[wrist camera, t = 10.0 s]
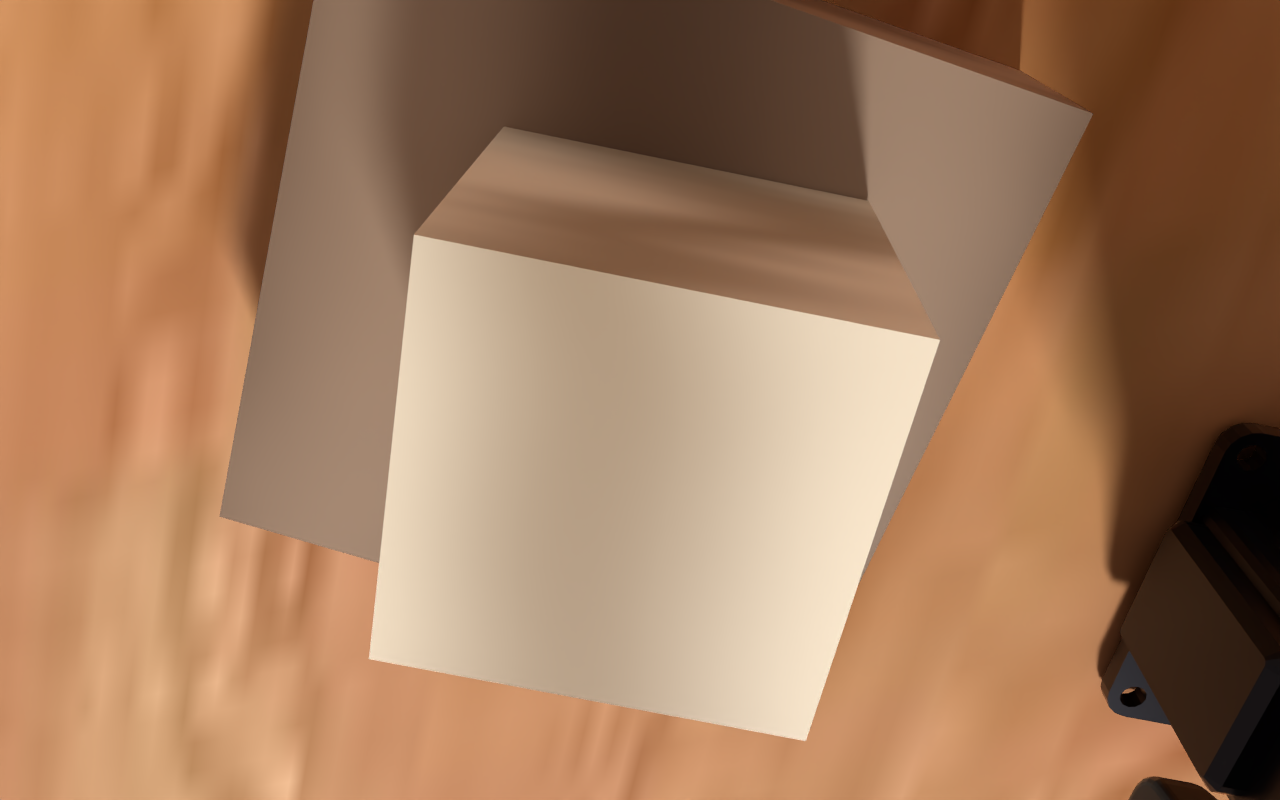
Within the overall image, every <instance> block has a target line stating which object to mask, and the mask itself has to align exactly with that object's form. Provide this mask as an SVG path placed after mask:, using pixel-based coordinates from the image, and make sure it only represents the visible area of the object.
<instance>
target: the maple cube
mask: <svg viewBox="0 0 1280 800" xmlns="http://www.w3.org/2000/svg"><path fill="white" fill-rule="evenodd" d="M939 342H940V339H939V337H938V335H937V333H936V331H935V329H934V327H933V325H932V323H931V321H930V319H929V317H928V315H927V313H926V312H925V310H924V308H923V306H922V304H921V302H920V300H919V298H918V296H917V294H916V292H915V290H914V288H913V286H912V284H911V282H910V280H909V278H908V276H907V274H906V272H905V271H904V269H903V267H902V265H901V263H900V261H899V259H898V257H897V255H896V253H895V251H894V249H893V247H892V245H891V243H890V241H889V239H888V237H887V235H886V233H885V231H884V230H883V228H882V226H881V224H880V222H879V220H878V218H877V216H876V214H875V212H874V210H873V208H872V206H871V204H870V202H869V201H867V200H862V199H857V198H852V197H847V196H842V195H837V194H833V193H828V192H823V191H818V190H813V189H808V188H803V187H798V186H793V185H788V184H784V183H779V182H774V181H769V180H764V179H759V178H754V177H749V176H744V175H739V174H734V173H730V172H725V171H720V170H715V169H710V168H705V167H700V166H695V165H690V164H685V163H681V162H676V161H671V160H666V159H661V158H656V157H651V156H646V155H641V154H636V153H632V152H627V151H622V150H617V149H612V148H607V147H602V146H597V145H592V144H587V143H582V142H578V141H573V140H568V139H563V138H558V137H553V136H548V135H543V134H538V133H533V132H529V131H524V130H519V129H514V128H509V127H503V128H502V129H501V131H500V132H499V133H498V134H497V135H496V137H495V138H494V139H493V140H492V141H491V143H490V144H489V145H488V146H487V147H486V149H485V150H484V151H483V152H482V153H481V155H480V156H479V157H478V158H477V159H476V161H475V162H474V163H473V164H472V165H471V167H470V168H469V169H468V170H467V171H466V173H465V174H464V175H463V176H462V177H461V179H460V180H459V181H458V182H457V183H456V185H455V186H454V187H453V188H452V189H451V191H450V192H449V193H448V194H447V195H446V197H445V198H444V199H443V200H442V201H441V203H440V204H439V205H438V206H437V207H436V209H435V210H434V211H433V212H432V213H431V215H430V216H429V217H428V218H427V219H426V221H425V222H424V223H423V224H422V225H421V227H420V228H419V229H418V230H417V231H416V233H415V234H414V238H413V247H412V257H411V266H410V276H409V285H408V295H407V304H406V314H405V323H404V333H403V342H402V352H401V361H400V371H399V380H398V390H397V399H396V409H395V418H394V428H393V437H392V447H391V456H390V466H389V475H388V484H387V494H386V503H385V513H384V522H383V532H382V541H381V551H380V560H379V570H378V579H377V589H376V598H375V608H374V617H373V627H372V636H371V646H370V655H369V659H372V660H377V661H382V662H388V663H393V664H398V665H404V666H409V667H414V668H420V669H425V670H430V671H436V672H441V673H446V674H452V675H457V676H462V677H467V678H473V679H478V680H483V681H489V682H494V683H499V684H505V685H510V686H515V687H521V688H526V689H531V690H537V691H542V692H547V693H553V694H558V695H563V696H569V697H574V698H579V699H585V700H590V701H595V702H601V703H606V704H611V705H617V706H622V707H627V708H633V709H638V710H643V711H649V712H654V713H659V714H665V715H670V716H675V717H681V718H686V719H691V720H697V721H702V722H707V723H713V724H718V725H723V726H729V727H734V728H739V729H745V730H750V731H755V732H761V733H766V734H771V735H776V736H782V737H787V738H792V739H798V740H803V741H806V739H807V736H808V733H809V730H810V727H811V724H812V721H813V718H814V715H815V712H816V709H817V706H818V703H819V700H820V697H821V694H822V691H823V688H824V685H825V682H826V679H827V676H828V673H829V670H830V667H831V664H832V661H833V658H834V655H835V652H836V649H837V646H838V643H839V640H840V637H841V634H842V631H843V628H844V625H845V622H846V619H847V616H848V613H849V610H850V607H851V604H852V601H853V598H854V595H855V592H856V589H857V586H858V583H859V580H860V577H861V574H862V571H863V568H864V565H865V562H866V559H867V557H868V554H869V551H870V548H871V545H872V542H873V539H874V536H875V533H876V530H877V527H878V524H879V521H880V518H881V515H882V512H883V509H884V506H885V503H886V500H887V497H888V494H889V491H890V488H891V485H892V482H893V479H894V476H895V473H896V470H897V467H898V464H899V461H900V458H901V455H902V452H903V449H904V446H905V443H906V440H907V437H908V434H909V431H910V428H911V425H912V422H913V419H914V416H915V413H916V410H917V407H918V404H919V401H920V398H921V395H922V392H923V389H924V386H925V383H926V380H927V377H928V374H929V372H930V369H931V366H932V363H933V360H934V357H935V354H936V351H937V348H938V345H939Z"/></svg>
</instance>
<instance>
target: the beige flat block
mask: <svg viewBox="0 0 1280 800" xmlns="http://www.w3.org/2000/svg"><path fill="white" fill-rule="evenodd" d="M1092 115H1093V113H1091V112H1090V111H1088V110H1086V109H1085V108H1083V107H1081V106H1079V105H1078V104H1076V103H1074V102H1073V101H1071V100H1069V99H1068V98H1066V97H1064V96H1062V95H1061V94H1059V93H1057V92H1056V91H1054V90H1052V89H1051V88H1049V87H1047V86H1045V85H1044V84H1042V83H1040V82H1039V81H1037V80H1035V79H1034V78H1032V77H1030V76H1028V75H1027V74H1025V73H1023V72H1022V71H1020V70H1017V69H1014V68H1012V67H1009V66H1006V65H1003V64H1000V63H997V62H995V61H992V60H989V59H986V58H983V57H981V56H978V55H975V54H972V53H969V52H966V51H964V50H961V49H958V48H955V47H952V46H949V45H947V44H944V43H941V42H938V41H935V40H932V39H930V38H927V37H924V36H921V35H918V34H915V33H913V32H910V31H907V30H904V29H901V28H899V27H896V26H893V25H890V24H887V23H884V22H882V21H879V20H876V19H873V18H870V17H867V16H865V15H862V14H859V13H856V12H853V11H850V10H848V9H845V8H842V7H839V6H836V5H833V4H831V3H828V2H825V1H822V0H314V1H313V6H312V11H311V17H310V22H309V28H308V33H307V39H306V44H305V50H304V55H303V61H302V66H301V72H300V77H299V83H298V88H297V94H296V99H295V105H294V110H293V116H292V121H291V127H290V132H289V138H288V143H287V149H286V154H285V160H284V165H283V171H282V176H281V182H280V187H279V193H278V198H277V204H276V209H275V215H274V220H273V226H272V231H271V237H270V242H269V248H268V253H267V259H266V264H265V270H264V275H263V281H262V286H261V292H260V297H259V303H258V308H257V314H256V319H255V325H254V330H253V336H252V341H251V347H250V352H249V358H248V363H247V369H246V374H245V380H244V385H243V391H242V396H241V402H240V407H239V413H238V418H237V424H236V429H235V435H234V440H233V446H232V451H231V457H230V462H229V468H228V473H227V479H226V484H225V490H224V495H223V501H222V506H221V512H220V517H223V518H226V519H230V520H233V521H236V522H240V523H243V524H247V525H250V526H254V527H257V528H261V529H264V530H267V531H271V532H274V533H278V534H281V535H285V536H288V537H291V538H295V539H298V540H302V541H305V542H309V543H312V544H316V545H319V546H322V547H326V548H329V549H333V550H336V551H340V552H343V553H346V554H350V555H353V556H357V557H360V558H364V559H367V560H370V561H374V562H377V563H379V560H380V551H381V541H382V532H383V522H384V513H385V503H386V494H387V484H388V475H389V466H390V456H391V447H392V437H393V428H394V418H395V409H396V399H397V390H398V380H399V371H400V361H401V352H402V342H403V333H404V323H405V314H406V304H407V295H408V285H409V276H410V266H411V257H412V247H413V238H414V234H415V233H416V231H417V230H418V229H419V228H420V227H421V225H422V224H423V223H424V222H425V221H426V219H427V218H428V217H429V216H430V215H431V213H432V212H433V211H434V210H435V209H436V207H437V206H438V205H439V204H440V203H441V201H442V200H443V199H444V198H445V197H446V195H447V194H448V193H449V192H450V191H451V189H452V188H453V187H454V186H455V185H456V183H457V182H458V181H459V180H460V179H461V177H462V176H463V175H464V174H465V173H466V171H467V170H468V169H469V168H470V167H471V165H472V164H473V163H474V162H475V161H476V159H477V158H478V157H479V156H480V155H481V153H482V152H483V151H484V150H485V149H486V147H487V146H488V145H489V144H490V143H491V141H492V140H493V139H494V138H495V137H496V135H497V134H498V133H499V132H500V131H501V129H502V128H503V127H509V128H514V129H519V130H524V131H529V132H533V133H538V134H543V135H548V136H553V137H558V138H563V139H568V140H573V141H578V142H582V143H587V144H592V145H597V146H602V147H607V148H612V149H617V150H622V151H627V152H632V153H636V154H641V155H646V156H651V157H656V158H661V159H666V160H671V161H676V162H681V163H685V164H690V165H695V166H700V167H705V168H710V169H715V170H720V171H725V172H730V173H734V174H739V175H744V176H749V177H754V178H759V179H764V180H769V181H774V182H779V183H784V184H788V185H793V186H798V187H803V188H808V189H813V190H818V191H823V192H828V193H833V194H837V195H842V196H847V197H852V198H857V199H862V200H867V201H869V202H870V204H871V206H872V208H873V210H874V212H875V214H876V216H877V218H878V220H879V222H880V224H881V226H882V228H883V230H884V231H885V233H886V235H887V237H888V239H889V241H890V243H891V245H892V247H893V249H894V251H895V253H896V255H897V257H898V259H899V261H900V263H901V265H902V267H903V269H904V271H905V272H906V274H907V276H908V278H909V280H910V282H911V284H912V286H913V288H914V290H915V292H916V294H917V296H918V298H919V300H920V302H921V304H922V306H923V308H924V310H925V312H926V313H927V315H928V317H929V319H930V321H931V323H932V325H933V327H934V329H935V331H936V333H937V335H938V337H939V339H940V342H939V345H938V348H937V351H936V354H935V357H934V360H933V363H932V366H931V369H930V372H929V374H928V377H927V380H926V383H925V386H924V389H923V392H922V395H921V398H920V401H919V404H918V407H917V410H916V413H915V416H914V419H913V422H912V425H911V428H910V431H909V434H908V437H907V440H906V443H905V446H904V449H903V452H902V455H901V458H900V461H899V464H898V467H897V470H896V473H895V476H894V479H893V482H892V485H891V488H890V491H889V494H888V497H887V500H886V503H885V506H884V509H883V512H882V515H881V518H880V521H879V524H878V527H877V530H876V533H875V536H874V539H873V542H872V545H871V548H870V551H869V554H868V557H867V559H866V562H865V565H864V568H863V571H862V574H861V577H860V580H861V578H862V576H863V574H864V572H865V570H866V568H867V566H868V564H869V562H870V560H871V558H872V556H873V554H874V552H875V550H876V548H877V546H878V544H879V542H880V540H881V538H882V536H883V534H884V532H885V530H886V528H887V526H888V524H889V522H890V520H891V518H892V516H893V514H894V512H895V510H896V508H897V506H898V504H899V502H900V500H901V498H902V496H903V494H904V492H905V490H906V488H907V486H908V484H909V482H910V480H911V478H912V476H913V474H914V472H915V470H916V468H917V466H918V464H919V462H920V460H921V458H922V456H923V454H924V452H925V450H926V448H927V446H928V444H929V442H930V440H931V438H932V436H933V434H934V432H935V430H936V428H937V426H938V424H939V422H940V420H941V418H942V416H943V414H944V412H945V410H946V408H947V406H948V404H949V402H950V400H951V398H952V396H953V394H954V392H955V390H956V388H957V386H958V384H959V382H960V380H961V378H962V376H963V374H964V372H965V370H966V368H967V366H968V364H969V362H970V360H971V358H972V356H973V354H974V352H975V350H976V348H977V346H978V344H979V342H980V340H981V338H982V336H983V334H984V332H985V330H986V328H987V326H988V324H989V322H990V320H991V318H992V316H993V314H994V312H995V310H996V308H997V306H998V304H999V302H1000V300H1001V298H1002V296H1003V294H1004V292H1005V290H1006V288H1007V286H1008V284H1009V282H1010V280H1011V278H1012V276H1013V274H1014V272H1015V270H1016V268H1017V266H1018V264H1019V262H1020V260H1021V258H1022V256H1023V254H1024V252H1025V250H1026V248H1027V246H1028V244H1029V242H1030V240H1031V238H1032V236H1033V234H1034V232H1035V230H1036V228H1037V226H1038V224H1039V222H1040V220H1041V218H1042V216H1043V214H1044V212H1045V210H1046V208H1047V206H1048V204H1049V202H1050V200H1051V198H1052V196H1053V194H1054V192H1055V190H1056V188H1057V186H1058V184H1059V182H1060V180H1061V178H1062V175H1063V173H1064V171H1065V169H1066V167H1067V165H1068V163H1069V161H1070V159H1071V157H1072V155H1073V153H1074V151H1075V149H1076V147H1077V145H1078V143H1079V141H1080V139H1081V137H1082V135H1083V133H1084V131H1085V129H1086V127H1087V125H1088V123H1089V121H1090V119H1091V117H1092ZM860 580H859V582H860ZM858 584H859V583H858Z"/></svg>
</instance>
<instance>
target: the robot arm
mask: <svg viewBox="0 0 1280 800" xmlns="http://www.w3.org/2000/svg"><path fill="white" fill-rule="evenodd" d="M1254 445H1256V450H1255V452H1254V453H1253V454H1252V455H1251V456H1250V457H1248V458H1246V459H1244V460H1237V456H1238V454H1239V453H1240V452H1241V451H1242V450H1243V449H1244V448H1246V447H1248V446H1254ZM1120 634H1121V637H1122V639H1121V641H1120V643H1119V645H1118V647H1117V649H1116V651H1115V653H1114V656H1113V658H1112V660H1111V662H1110V664H1109V666H1108V668H1107V670H1106V672H1105V674H1104V677H1103V679H1102V683H1101V690H1102V693H1103V695H1104V697H1105V699H1106V701H1107V703H1108V705H1109V707H1110V708H1111V709H1112V710H1113V711H1114V712H1115V713H1117V714H1119V715H1122V716H1126V717H1131V718H1136V719H1142V720H1147V721H1152V722H1158V723H1163V724H1168V725H1171V726H1172V727H1173V729H1174V731H1175V733H1176V735H1177V736H1178V738H1179V740H1180V742H1181V744H1182V745H1183V747H1184V749H1185V751H1186V752H1187V754H1188V756H1189V758H1190V760H1191V761H1192V763H1193V765H1194V767H1195V768H1196V770H1197V772H1198V774H1199V776H1200V777H1201V779H1202V781H1203V782H1204V784H1205V785H1206V787H1207V788H1208V789H1209V790H1210V791H1211V792H1215V793H1221V794H1226V795H1227V796H1228V798H1229V800H1280V429H1279V428H1274V427H1269V426H1264V425H1259V424H1254V423H1241V424H1238V425H1235V426H1232V427H1230V428H1229V429H1227V430H1226V431H1224V432H1223V433H1221V435H1220V436H1219V438H1218V439H1217V440H1216V442H1215V444H1214V446H1213V448H1212V450H1211V452H1210V454H1209V456H1208V458H1207V460H1206V462H1205V465H1204V467H1203V469H1202V471H1201V473H1200V475H1199V477H1198V479H1197V481H1196V483H1195V485H1194V488H1193V490H1192V492H1191V494H1190V496H1189V498H1188V500H1187V502H1186V504H1185V506H1184V509H1183V511H1182V513H1181V515H1180V517H1179V519H1178V521H1177V522H1176V523H1175V524H1174V525H1173V526H1172V527H1170V528H1169V529H1168V530H1167V532H1166V534H1165V536H1164V538H1163V540H1162V542H1161V544H1160V546H1159V549H1158V551H1157V553H1156V555H1155V557H1154V559H1153V561H1152V563H1151V565H1150V568H1149V570H1148V572H1147V574H1146V576H1145V578H1144V580H1143V582H1142V584H1141V587H1140V589H1139V591H1138V593H1137V595H1136V597H1135V599H1134V601H1133V603H1132V606H1131V608H1130V610H1129V612H1128V614H1127V616H1126V618H1125V620H1124V622H1123V625H1122V627H1121V629H1120ZM1130 687H1137V688H1136V689H1135V691H1133V692H1130V693H1125V694H1122V692H1123V691H1124V690H1126V689H1128V688H1130ZM1129 800H1217V799H1216V798H1215V797H1214V796H1213V795H1211V794H1210V793H1209V792H1208V791H1207V790H1205V789H1204V788H1202V787H1200V786H1198V785H1196V784H1193V783H1189V782H1183V781H1178V780H1172V779H1167V778H1161V777H1147V778H1145V779H1143V780H1142V781H1141V782H1139V783H1138V784H1137V786H1136V787H1135V789H1134V790H1133V792H1132V794H1131V796H1130V798H1129Z"/></svg>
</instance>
